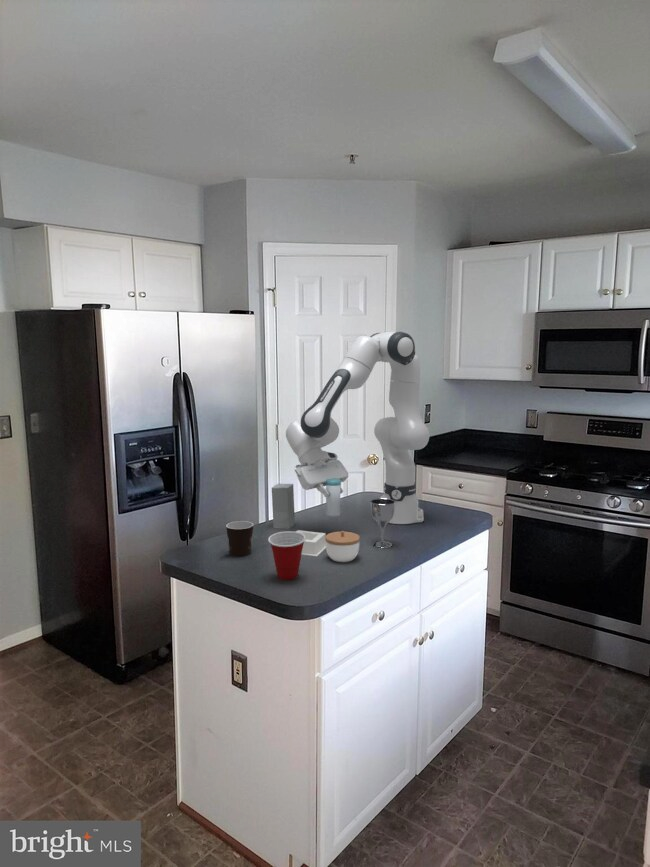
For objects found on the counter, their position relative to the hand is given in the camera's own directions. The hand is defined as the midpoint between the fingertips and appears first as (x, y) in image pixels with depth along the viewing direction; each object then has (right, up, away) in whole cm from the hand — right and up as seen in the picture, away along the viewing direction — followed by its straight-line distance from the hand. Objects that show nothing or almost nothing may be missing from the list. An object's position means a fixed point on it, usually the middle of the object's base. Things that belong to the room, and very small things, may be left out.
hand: (334, 494), depth 205 cm
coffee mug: (-30, -18, -10) cm, 36 cm away
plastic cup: (-14, -21, -29) cm, 38 cm away
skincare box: (-19, -14, +19) cm, 30 cm away
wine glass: (+16, -17, 0) cm, 23 cm away
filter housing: (-9, -18, -6) cm, 21 cm away
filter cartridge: (-1, -7, +1) cm, 7 cm away
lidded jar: (+2, -19, -15) cm, 25 cm away
